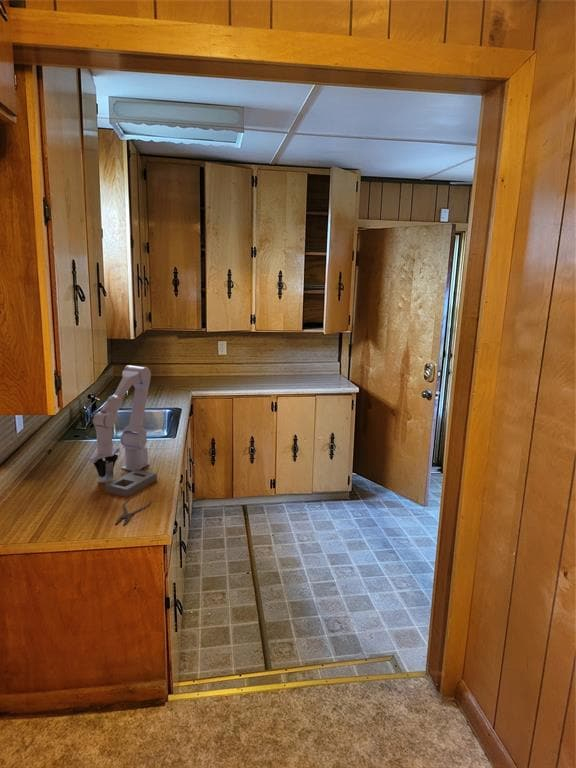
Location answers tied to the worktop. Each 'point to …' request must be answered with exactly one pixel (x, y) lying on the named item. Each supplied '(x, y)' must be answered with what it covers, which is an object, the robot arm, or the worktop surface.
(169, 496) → the worktop surface
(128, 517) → the pliers
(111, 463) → the peg
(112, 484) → the socket plate
